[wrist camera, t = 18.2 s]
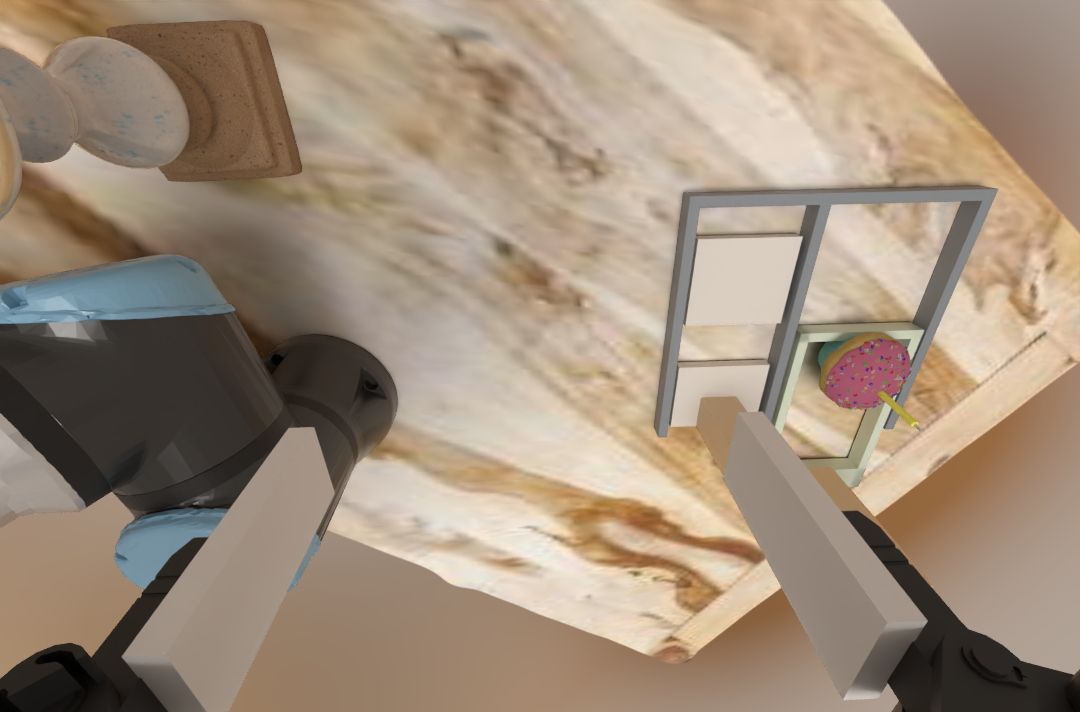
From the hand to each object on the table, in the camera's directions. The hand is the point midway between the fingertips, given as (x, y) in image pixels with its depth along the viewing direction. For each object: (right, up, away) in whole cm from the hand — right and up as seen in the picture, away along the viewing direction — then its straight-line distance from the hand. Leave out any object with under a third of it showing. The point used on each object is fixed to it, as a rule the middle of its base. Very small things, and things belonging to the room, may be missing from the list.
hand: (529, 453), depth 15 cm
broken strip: (+20, +5, +35) cm, 41 cm away
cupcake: (+34, +4, +37) cm, 50 cm away
